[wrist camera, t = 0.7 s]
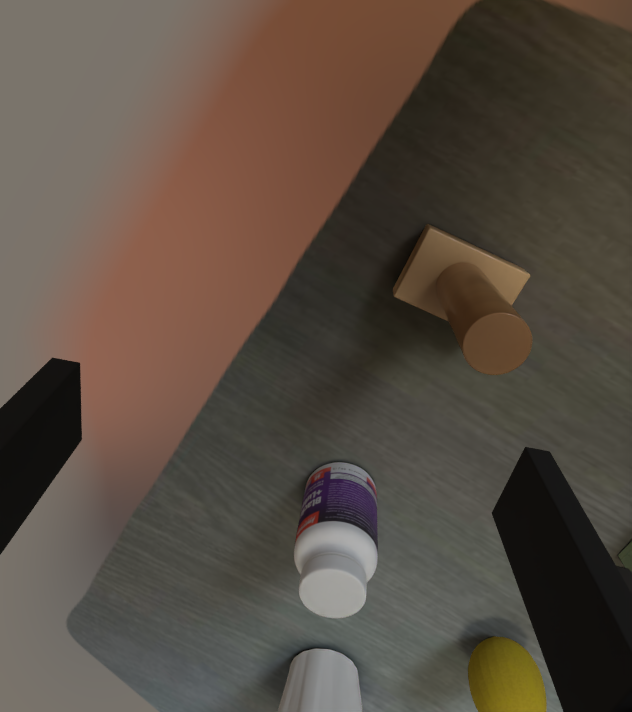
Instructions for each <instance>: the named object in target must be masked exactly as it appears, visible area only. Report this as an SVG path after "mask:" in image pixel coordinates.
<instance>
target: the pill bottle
mask: <svg viewBox="0 0 632 712" xmlns="http://www.w3.org/2000/svg"><path fill="white" fill-rule="evenodd" d="M377 558H378V542H377V494H376V487H375V484H374V482H373V480H372V478H371V477H370V476H369V474H368V473H367V472H365V471H364V470H363V469H361V468H360V467H358V466H355V465H352V464H349V463H343V462H336V463H330V464H326V465H323V466H321V467H319V468H318V469H316V470H315V471H314V472H313V473H312V474H311V476H310V477H309V479H308V481H307V484H306V488H305V493H304V498H303V503H302V509H301V514H300V519H299V525H298V530H297V536H296V541H295V548H294V560H295V564H296V567H297V569H298V571H299V573H300V574H301V577H300V584H299V595H300V598H301V600H302V602H303V604H304V605H305V606H306V607H307V608H308V609H309V610H311V611H312V612H314V613H315V614H318V615H320V616H323V617H328V618H344V617H348V616H351V615H353V614H355V613H356V612H358V611H359V610H360V609H361V608H362V607H363V605H364V603H365V600H366V591H367V582H368V581H369V580H370V579H371V577H372V576H373V574H374V572H375V570H376V566H377Z"/></svg>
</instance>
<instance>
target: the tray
mask: <svg viewBox="0 0 632 712" xmlns="http://www.w3.org/2000/svg"><path fill="white" fill-rule="evenodd" d="M618 556H619V558H620V560H621V561H622V563H623V565H624V566H625V568H628V569H629V570H630V571H631V572H632V541H631V542H630V543H629V544H628V545H627V546H626V547H625V549H624V550H623V551H622V552H621V553H620V554H619V555H618Z"/></svg>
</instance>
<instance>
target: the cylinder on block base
mask: <svg viewBox="0 0 632 712" xmlns="http://www.w3.org/2000/svg"><path fill="white" fill-rule="evenodd" d="M529 277H530V274H529V273H528V272H527V271H525V270H524V269H523V268H521V267H519V266H517V265H515V264H513V263H511V262H508V261H506V260H504V259H502V258H500V257H498V256H496V255H494V254H491V253H489V252H487V251H485V250H483V249H481V248H479V247H476V246H474V245H472V244H470V243H468V242H466V241H464V240H462V239H459V238H457V237H455V236H453V235H451V234H449V233H447V232H445V231H442V230H440V229H438V228H436V227H434V226H432V225H430V224H426V226H425V228H424V230H423V232H422V234H421V236H420V238H419V239H418V241H417V243H416V245H415V247H414V249H413V251H412V253H411V255H410V257H409V259H408V261H407V263H406V264H405V266H404V268H403V270H402V272H401V274H400V276H399V278H398V280H397V282H396V284H395V286H394V288H393V293H394V297H396V298H398V299H400V300H402V301H404V302H407V303H409V304H411V305H413V306H415V307H418V308H420V309H422V310H424V311H426V312H429V313H431V314H433V315H435V316H437V317H440V318H442V319H444V320H446V321H448V322H449V323H450V325H451V327H452V330H453V332H454V334H455V337H456V339H457V341H458V343H459V346H460V348H461V350H462V353H463V355H464V357H465V359H466V361H467V362H468V364H469V365H470V366H471V367H472V368H474V369H475V370H477V371H479V372H481V373H484V374H489V375H500V374H505V373H508V372H510V371H512V370H514V369H516V368H517V367H519V366H520V365H521V364H522V363H523V362H524V361H525V360H526V358H527V357H528V355H529V353H530V350H531V347H532V334H531V331H530V329H529V327H528V325H527V324H526V323H525V321H524V320H523V319H522V318H521V317H520V315H519V314H518V313H517V312H516V311H515V310H514V308H513V307H512V304H513V302H514V301H515V299H516V298H517V296H518V295H519V293H520V291H521V290H522V288H523V287H524V285H525V284H526V282H527V280H528V279H529Z"/></svg>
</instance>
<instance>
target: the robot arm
mask: <svg viewBox="0 0 632 712" xmlns="http://www.w3.org/2000/svg"><path fill="white" fill-rule="evenodd" d="M80 385H81V384H80V363H78V362H72V361H67V360H62V359H56V358H52V359H51V360H50V361H48V362H47V364H45V365H44V366H43V367H42V368H41V369H40V370H39V371H38V372H37V373H36V374H35V375H34V376H33V377H32V378H31V379H30V380H29V381H28V382H27V383H26V384H25V385H24V386H23V387H22V388H21V389H20V390H19V391H18V392H17V393H16V394H15V395H14V396H13V397H12V398H11V399H10V400H9V401H8V402H7V403H6V404H4V405H3V407H1V408H0V554H1V553H2V551H3V550H4V549H5V547H6V546H7V545H8V543H9V542H10V540H11V539H12V538H13V536H14V535H15V533H16V532H17V530H18V529H19V528H20V526H21V525H22V523H23V522H24V520H25V519H26V518H27V516H28V515H29V513H30V512H31V511H32V509H33V508H34V506H35V505H36V504H37V502H38V500H39V499H40V498H41V496H42V495H43V494H44V492H45V491H46V489H47V488H48V487H49V485H50V484H51V482H52V481H53V479H54V478H55V477H56V475H57V474H58V473H59V471H60V470H61V468H62V467H63V465H64V464H65V463H66V461H67V460H68V458H69V457H70V456H71V454H72V453H73V451H74V450H75V448H76V447H77V445H78V444H79V443H80V441H81V440H82V431H81V430H82V429H81V386H80ZM492 515H493V518H494V521H495V523H496V526H497V529H498V532H499V534H500V537H501V540H502V543H503V546H504V548H505V551H506V554H507V557H508V559H509V562H510V565H511V568H512V570H513V573H514V576H515V579H516V582H517V584H518V587H519V590H520V593H521V595H522V598H523V601H524V604H525V606H526V609H527V612H528V615H529V618H530V620H531V623H532V626H533V629H534V631H535V634H536V637H537V640H538V642H539V645H540V648H541V651H542V654H543V656H544V659H545V662H546V665H547V667H548V670H549V673H550V676H551V678H552V681H553V684H554V687H555V690H556V692H557V695H558V698H559V701H560V703H561V706H562V709H563V712H632V572H631V571H630V570H629V569H628V568H624V567H618V566H616V565H615V564H614V562H613V560H612V558H611V557H610V555H609V553H608V552H607V550H606V548H605V546H604V545H603V543H602V541H601V539H600V538H599V536H598V534H597V533H596V531H595V529H594V527H593V526H592V524H591V522H590V520H589V519H588V517H587V515H586V513H585V512H584V510H583V508H582V507H581V505H580V503H579V501H578V500H577V498H576V496H575V494H574V493H573V491H572V489H571V488H570V486H569V484H568V482H567V481H566V479H565V477H564V475H563V474H562V472H561V470H560V468H559V467H558V465H557V463H556V462H555V460H554V458H553V456H552V455H551V453H550V452H549V451H544V450H539V449H533V448H528V447H525V449H524V451H523V453H522V454H521V456H520V458H519V460H518V462H517V464H516V466H515V468H514V470H513V472H512V474H511V476H510V478H509V480H508V482H507V484H506V486H505V488H504V490H503V492H502V494H501V496H500V498H499V500H498V502H497V504H496V506H495V508H494V510H493V512H492Z"/></svg>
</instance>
